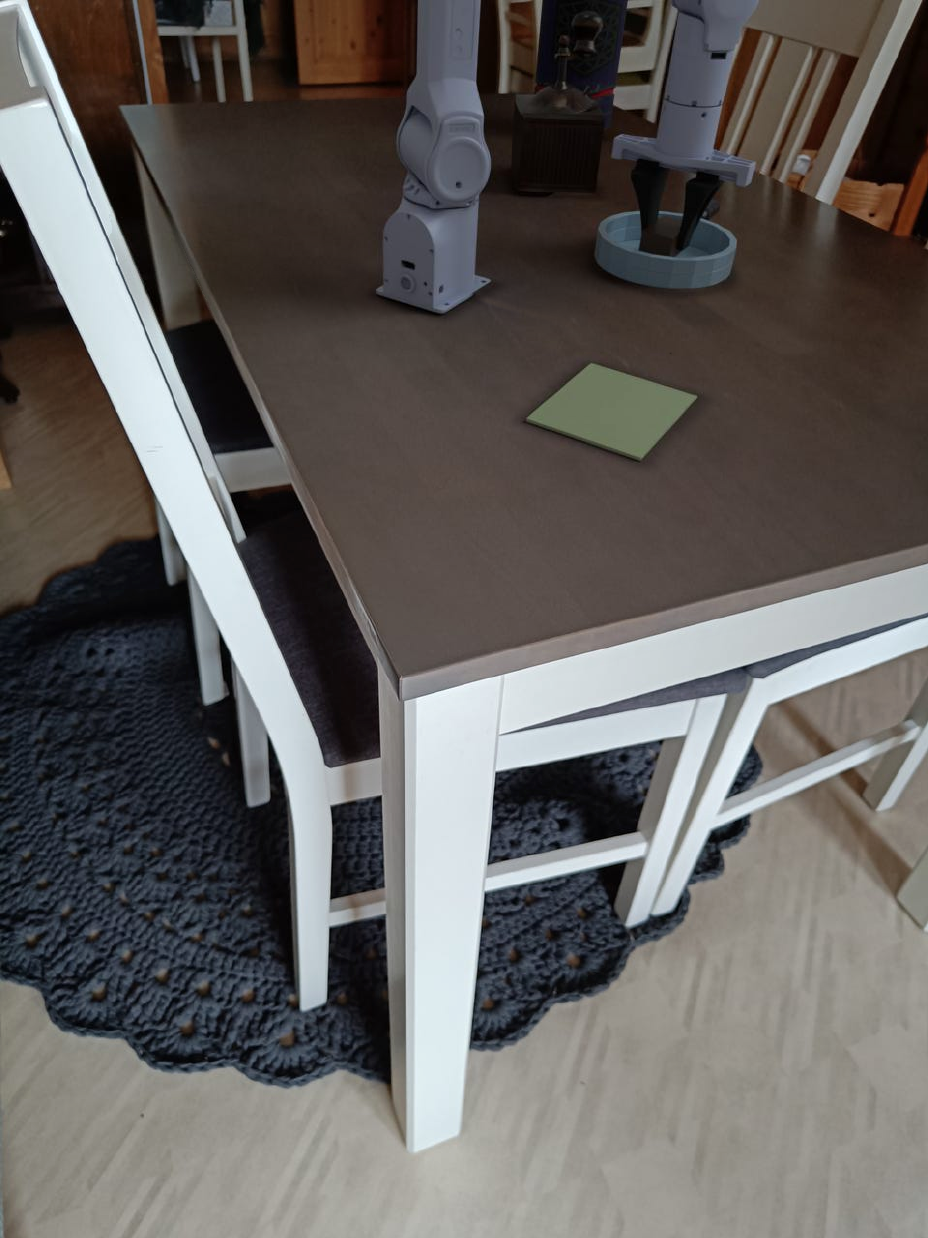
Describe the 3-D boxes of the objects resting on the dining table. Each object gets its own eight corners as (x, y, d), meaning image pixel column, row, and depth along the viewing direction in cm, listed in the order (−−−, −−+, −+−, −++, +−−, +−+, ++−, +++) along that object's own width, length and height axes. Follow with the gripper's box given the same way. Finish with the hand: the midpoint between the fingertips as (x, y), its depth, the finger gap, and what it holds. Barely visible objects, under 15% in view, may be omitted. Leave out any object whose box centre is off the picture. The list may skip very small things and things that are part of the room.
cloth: (640, 461, 69) (640, 457, 69) (525, 421, 73) (525, 418, 72) (696, 398, 77) (697, 395, 76) (590, 365, 80) (591, 362, 80)
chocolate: (667, 262, 95) (672, 238, 93) (637, 254, 96) (641, 230, 94) (688, 246, 99) (693, 222, 97) (659, 238, 100) (663, 215, 98)
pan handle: (694, 235, 102) (698, 218, 100) (680, 231, 102) (683, 214, 101) (719, 215, 107) (723, 199, 106) (705, 212, 107) (708, 196, 106)
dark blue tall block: (615, 143, 134) (654, -117, 114) (535, 141, 133) (560, -123, 113) (598, 119, 144) (631, -125, 124) (524, 116, 143) (545, -130, 123)
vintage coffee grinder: (601, 198, 115) (625, 31, 103) (515, 195, 114) (529, 27, 102) (583, 161, 126) (602, 8, 114) (504, 158, 125) (516, 3, 113)
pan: (700, 305, 91) (708, 271, 89) (571, 270, 96) (575, 237, 94) (746, 262, 101) (755, 230, 98) (627, 232, 106) (632, 201, 104)
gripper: (778, 105, 88) (742, 248, 97) (640, 80, 93) (619, 217, 102) (755, 119, 83) (719, 267, 92) (612, 92, 88) (592, 234, 97)
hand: (665, 242), depth 97 cm, fingers closed on chocolate, 3 cm apart
